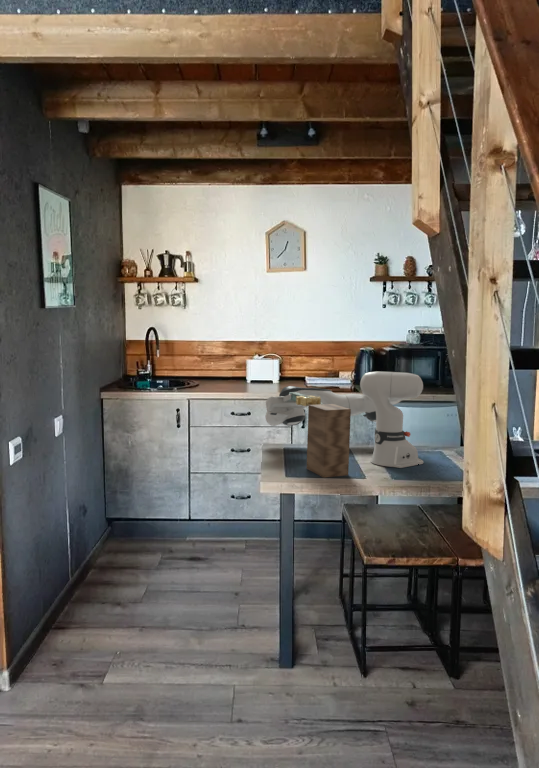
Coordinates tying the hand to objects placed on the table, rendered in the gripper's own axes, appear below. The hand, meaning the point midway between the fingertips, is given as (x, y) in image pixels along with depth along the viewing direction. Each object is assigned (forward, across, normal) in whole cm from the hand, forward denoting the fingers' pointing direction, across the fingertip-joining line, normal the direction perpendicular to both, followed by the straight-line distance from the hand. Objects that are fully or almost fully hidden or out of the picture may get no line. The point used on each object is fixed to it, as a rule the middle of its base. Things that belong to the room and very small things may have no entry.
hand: (295, 395), depth 248 cm
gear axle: (+5, 0, -5) cm, 7 cm away
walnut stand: (+11, -1, -38) cm, 39 cm away
